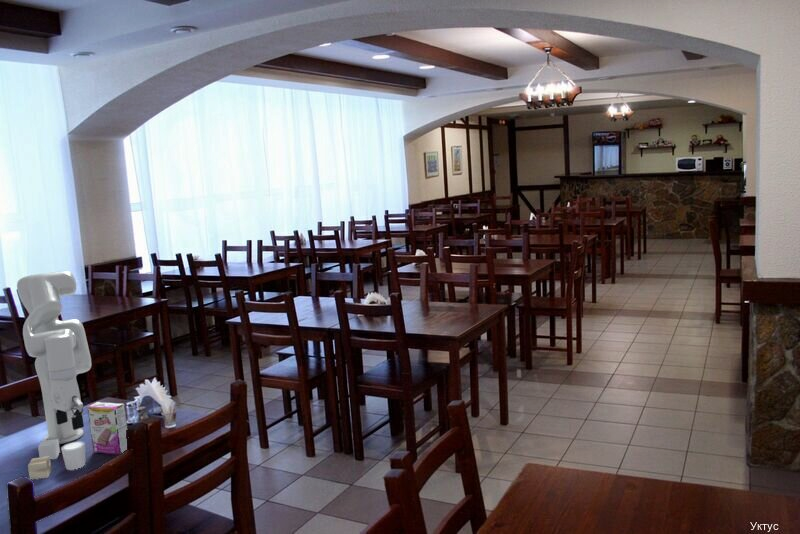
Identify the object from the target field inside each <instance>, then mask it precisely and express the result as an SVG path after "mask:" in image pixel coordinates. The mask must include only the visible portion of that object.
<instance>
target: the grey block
mask: <svg viewBox="0 0 800 534" xmlns="http://www.w3.org/2000/svg"><path fill="white" fill-rule="evenodd" d="M37 450H38V456H39V457H46V456H50V459H52V460H57V459H58V457H59V455H60V454H59V453H61V447H60V444H59V441H58V439H54V440H46V441H44V440H42V441H41V442H40V443H39V445H38V446H37ZM39 457H38V458H39Z"/></svg>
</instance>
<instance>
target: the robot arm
mask: <svg viewBox="0 0 800 534" xmlns="http://www.w3.org/2000/svg"><path fill="white" fill-rule="evenodd" d="M16 289H17V293H18V296H19V299H20V301H21V303H22V304H23V306H24V308H25V309H26V311H27V313H28V316H27V318H26V319H25V321H24V324H23V326H22V327H23V328H22V336H23V341H24V347H25V350H26V352H27V354H28V356H30V357H32V358H35V361H34V367H35V371H36V374H37V377H38V380H39V381H38V382H39V385H40V388H41V393H42V403H43V410H44V415H45V421H46V422H45V423H46V428H47V429H46V430H47V434H46V435H45V436H44V437H43V441H46V440H54V439H58V441H59V445H61V444H68V443H71V442H74V441H76V440H78V439H80V438H81V437H82V436H83V435H84V430H83V428H84V426H85V424H84V419H83V417H84V416H83V415H84V409H83V408H84V404H83V402H82V400H81V393H80V388H79V384H78V381H77V376H78V375H79V374H84V373H87V372H88V371H90V370H91V368H92V357H91V353H90V352H91V351H90V349H89V344H88V340H87V336H86V330H85V328H84V325H83V322H81V321H80V320H79V319H76V318H71V319H64V320H60V319H59V316H60V315H61V314H62V312H63V305H62V301H61V297H64V296H71V295H75V293H76V291H77V281H76V278H75V276H74V274H73V273H72V272H71V271H69V270H63V271H54V272H46V273H38V274H37V273H36V274H31V275H26V276H24V277H21V278H19V279H18V280H17V282H16Z"/></svg>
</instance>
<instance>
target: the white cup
mask: <svg viewBox="0 0 800 534" xmlns="http://www.w3.org/2000/svg"><path fill="white" fill-rule="evenodd" d="M60 451H61V454H62V458H63V461H64V465H65V469H66V470H67V471H75V470H74V469H76V470H79V469H78V468H80V469H82V468H83V466H84V465H85V466H86V464H85V463H86V443H85V442H84V441H70V442H67V443H65V444H64V445H63V446H61V447H60ZM85 466H84V467H85ZM81 467H82V468H81Z"/></svg>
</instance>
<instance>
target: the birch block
mask: <svg viewBox="0 0 800 534" xmlns="http://www.w3.org/2000/svg"><path fill="white" fill-rule="evenodd" d="M51 464H52V463H51V460H50V456H46V457H34V458H33V457H32V458H31V460H30V461H29V462H28V464H27V470H28V475H29V480H30V479H32V480H31V481H34V480H33V479H36V480H42V479H48V478H49V476H50V474H51V473H52V465H51ZM39 478H40V479H39ZM41 478H42V479H41Z"/></svg>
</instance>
